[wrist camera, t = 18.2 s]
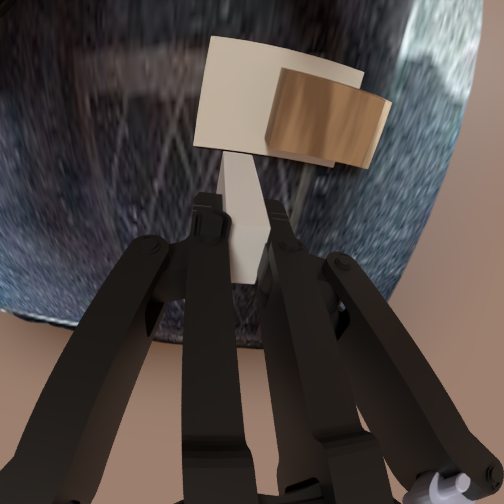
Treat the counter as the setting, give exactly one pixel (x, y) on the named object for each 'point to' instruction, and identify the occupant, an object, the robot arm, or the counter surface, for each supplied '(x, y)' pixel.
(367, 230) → the counter surface
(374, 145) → the beige rectangular box
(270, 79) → the felt mat
